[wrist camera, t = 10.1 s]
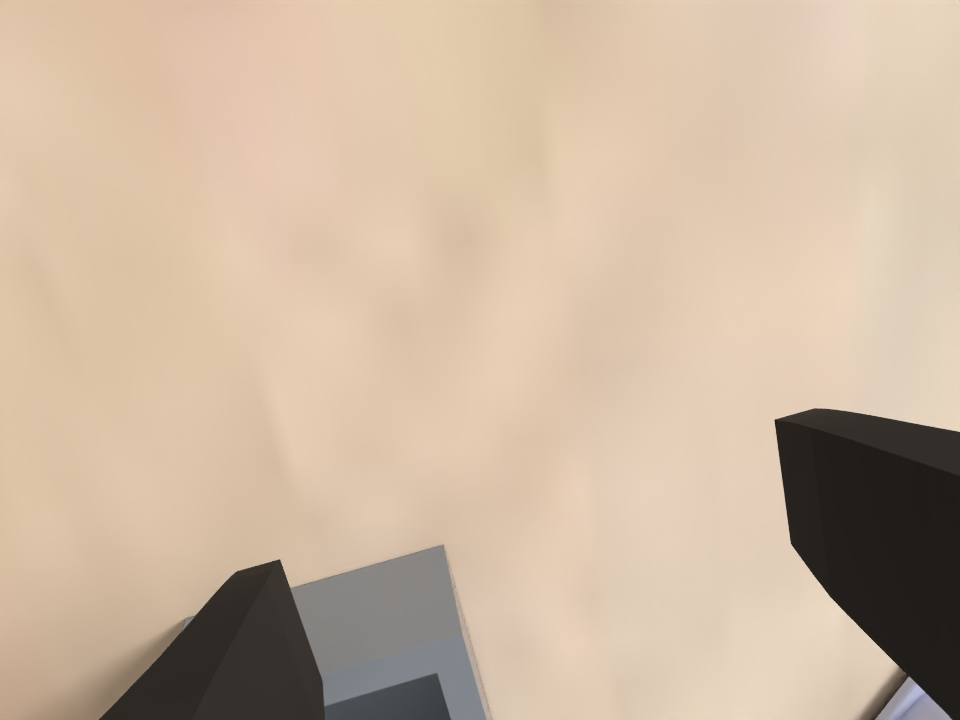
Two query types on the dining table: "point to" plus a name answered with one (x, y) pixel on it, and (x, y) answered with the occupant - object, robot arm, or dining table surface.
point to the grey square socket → (392, 642)
